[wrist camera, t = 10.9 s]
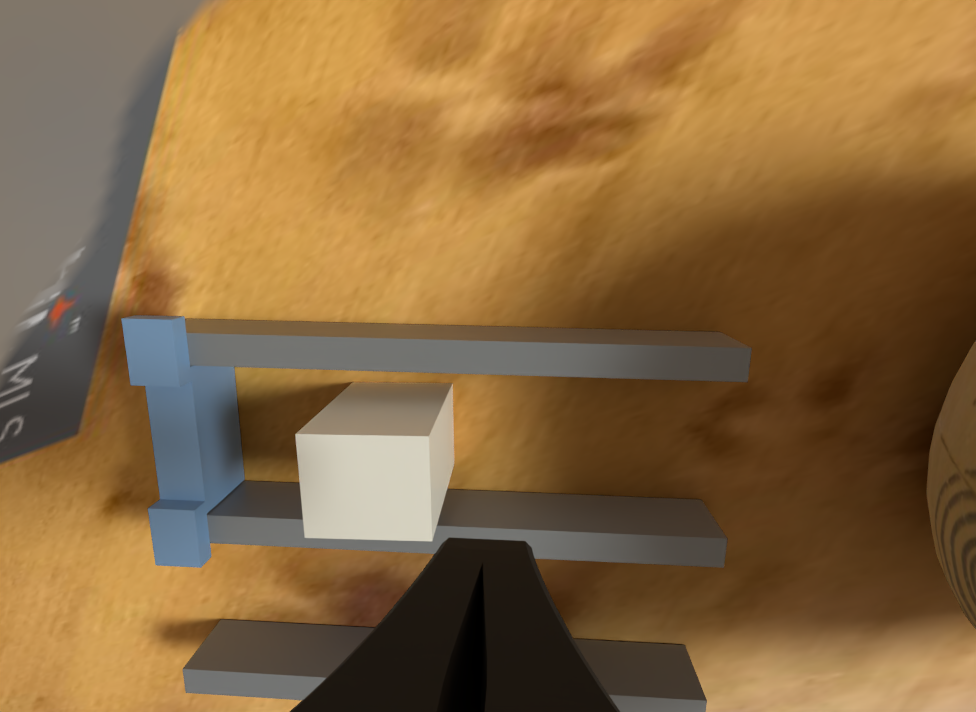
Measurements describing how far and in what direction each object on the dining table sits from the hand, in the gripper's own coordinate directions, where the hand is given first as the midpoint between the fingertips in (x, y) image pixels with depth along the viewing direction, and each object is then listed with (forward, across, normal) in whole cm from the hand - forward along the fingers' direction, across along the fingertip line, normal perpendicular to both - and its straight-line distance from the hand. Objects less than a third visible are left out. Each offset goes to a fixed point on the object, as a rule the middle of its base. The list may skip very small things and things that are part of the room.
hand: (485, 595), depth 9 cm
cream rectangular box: (+10, +4, +1) cm, 11 cm away
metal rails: (+10, +2, +4) cm, 11 cm away
